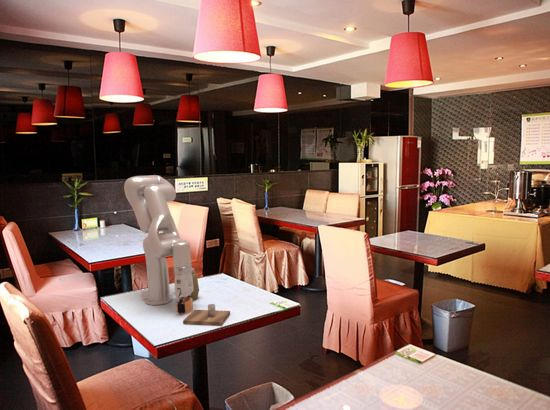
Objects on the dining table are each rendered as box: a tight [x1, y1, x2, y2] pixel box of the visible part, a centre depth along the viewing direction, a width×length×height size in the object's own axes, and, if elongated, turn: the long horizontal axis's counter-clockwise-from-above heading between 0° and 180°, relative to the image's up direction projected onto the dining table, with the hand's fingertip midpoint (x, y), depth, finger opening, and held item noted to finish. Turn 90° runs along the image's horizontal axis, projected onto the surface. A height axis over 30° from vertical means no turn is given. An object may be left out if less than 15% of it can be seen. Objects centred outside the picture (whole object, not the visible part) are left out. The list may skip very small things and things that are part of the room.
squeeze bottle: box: [190, 265, 200, 301], centre depth 195 cm, size 8×8×18 cm
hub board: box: [182, 303, 231, 327], centre depth 170 cm, size 16×12×6 cm
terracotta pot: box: [175, 297, 194, 315], centre depth 180 cm, size 7×7×6 cm
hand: (184, 309), depth 180 cm, fingers closed on terracotta pot, 6 cm apart
